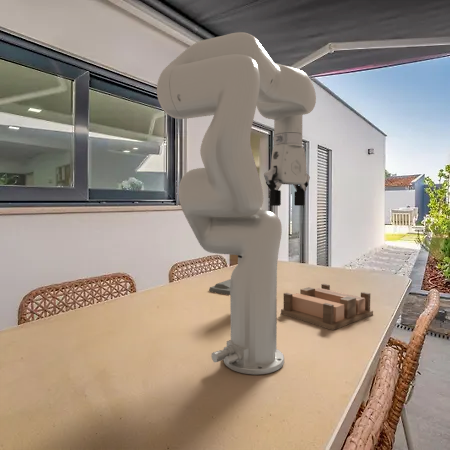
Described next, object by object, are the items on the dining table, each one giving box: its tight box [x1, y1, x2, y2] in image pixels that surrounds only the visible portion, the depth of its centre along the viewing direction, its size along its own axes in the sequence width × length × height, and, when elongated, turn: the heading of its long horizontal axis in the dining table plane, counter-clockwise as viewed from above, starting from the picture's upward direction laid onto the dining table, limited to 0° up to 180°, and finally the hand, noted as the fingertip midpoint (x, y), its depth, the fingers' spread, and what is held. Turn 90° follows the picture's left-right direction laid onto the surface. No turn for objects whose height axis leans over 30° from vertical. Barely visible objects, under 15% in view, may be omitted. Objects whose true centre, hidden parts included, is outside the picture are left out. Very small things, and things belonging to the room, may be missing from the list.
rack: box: [280, 283, 374, 331], centre depth 102 cm, size 20×18×6 cm
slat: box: [292, 292, 344, 322], centre depth 99 cm, size 16×4×4 cm, turn 40°
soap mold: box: [208, 278, 231, 296], centre depth 135 cm, size 10×20×4 cm, turn 146°
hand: (287, 205), depth 94 cm, fingers open, 9 cm apart
